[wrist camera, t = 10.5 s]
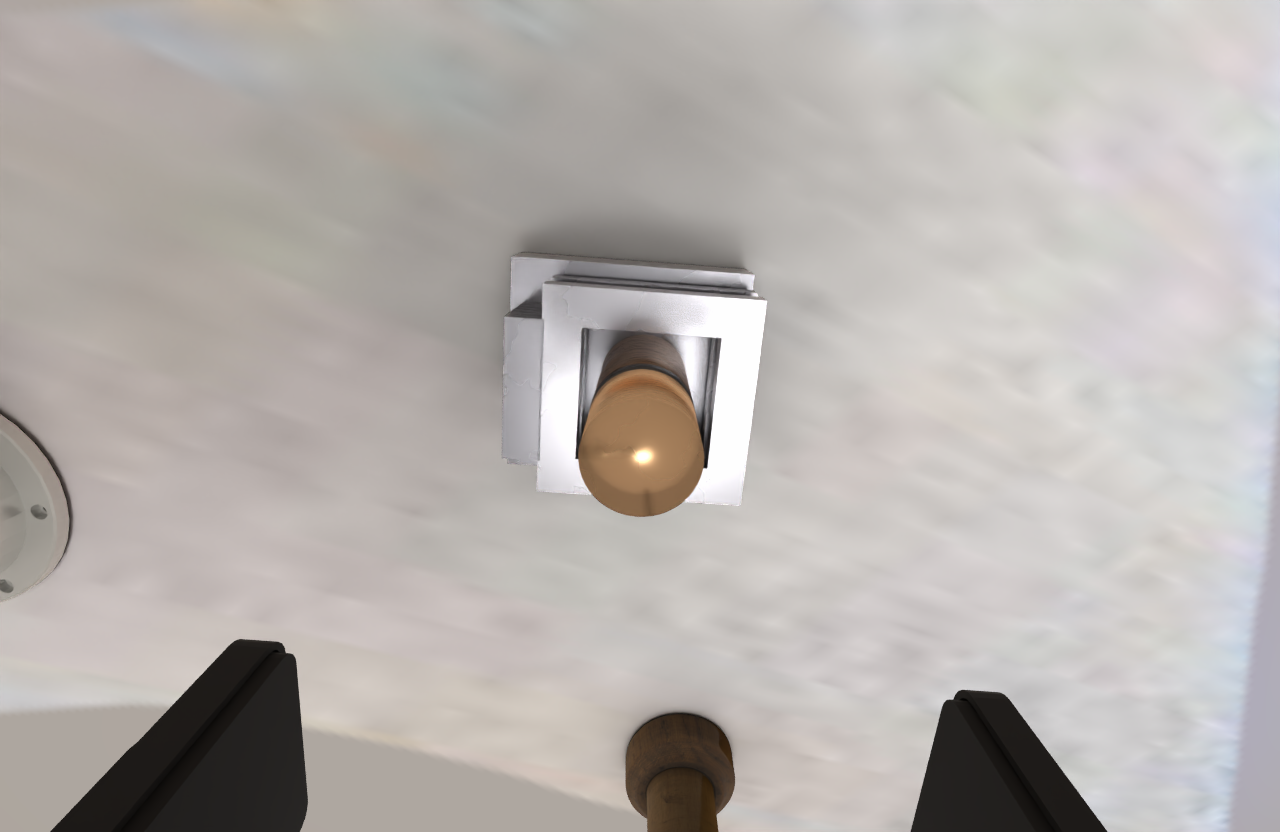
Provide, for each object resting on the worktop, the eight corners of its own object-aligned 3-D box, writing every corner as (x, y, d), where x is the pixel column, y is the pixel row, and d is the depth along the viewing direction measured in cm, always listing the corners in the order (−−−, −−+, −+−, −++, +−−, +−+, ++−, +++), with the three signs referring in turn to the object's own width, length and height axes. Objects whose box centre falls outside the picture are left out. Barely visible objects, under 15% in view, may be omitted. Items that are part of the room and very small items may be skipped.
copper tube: (603, 330, 31) (580, 393, 21) (689, 337, 31) (711, 403, 21) (598, 413, 33) (574, 512, 22) (682, 420, 33) (698, 521, 22)
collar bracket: (518, 443, 36) (487, 500, 29) (522, 251, 33) (489, 264, 26) (723, 458, 36) (741, 518, 29) (745, 268, 33) (771, 285, 26)
